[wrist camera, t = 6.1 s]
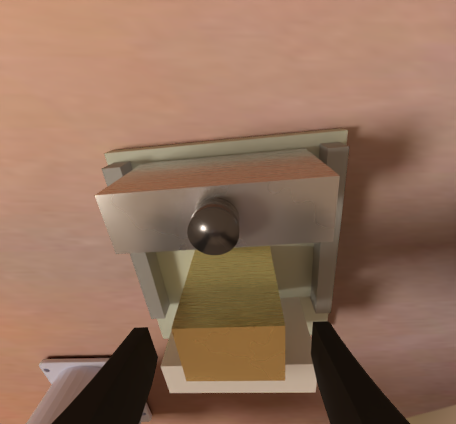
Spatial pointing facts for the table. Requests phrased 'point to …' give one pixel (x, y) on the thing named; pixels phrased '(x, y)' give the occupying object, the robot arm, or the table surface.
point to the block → (231, 318)
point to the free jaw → (222, 203)
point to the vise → (281, 254)
